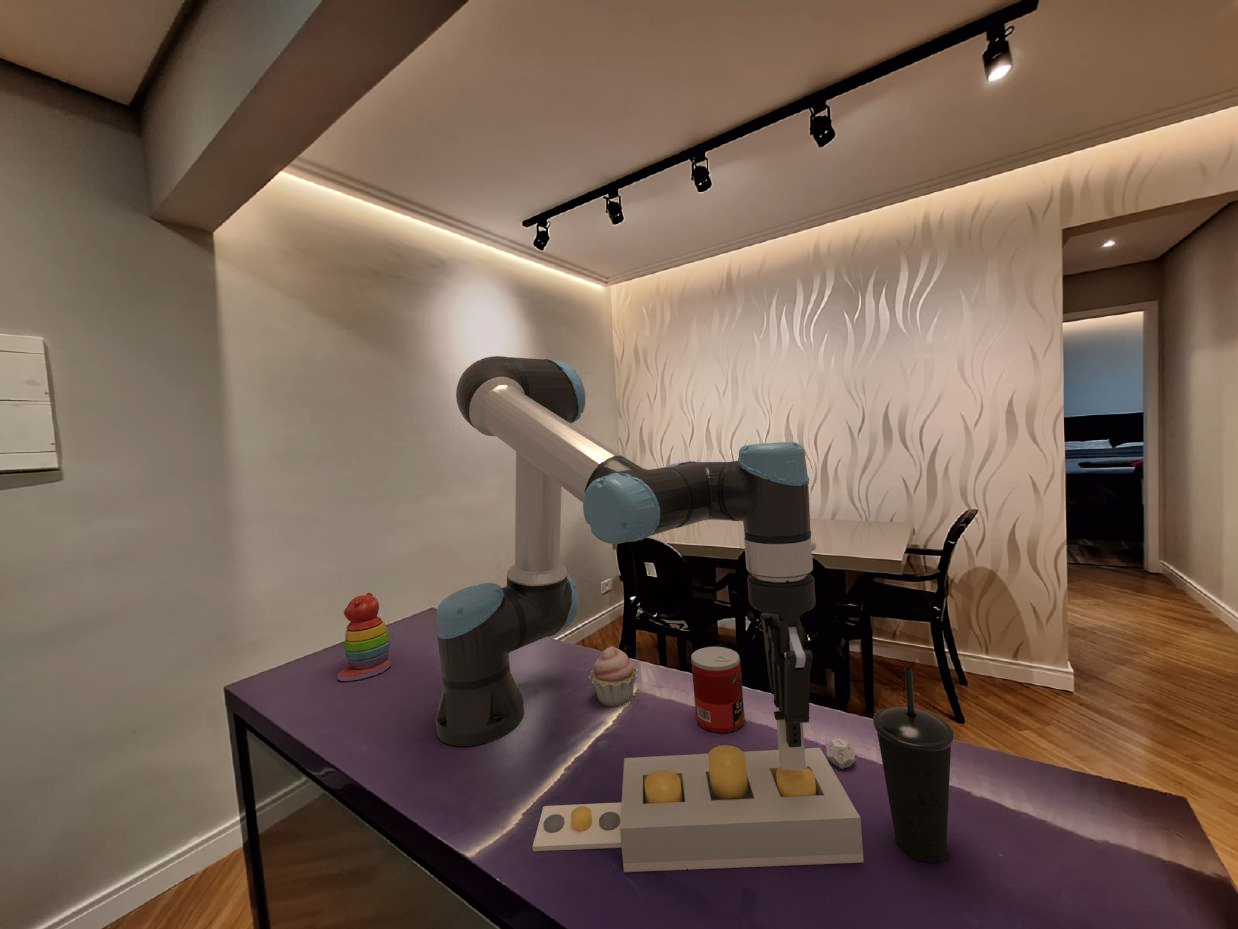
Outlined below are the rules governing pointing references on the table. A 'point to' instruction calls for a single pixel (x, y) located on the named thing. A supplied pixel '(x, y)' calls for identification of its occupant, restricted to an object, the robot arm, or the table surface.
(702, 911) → the table surface
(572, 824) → the pattern card
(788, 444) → the robot arm
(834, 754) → the game die
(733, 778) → the button mid
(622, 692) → the cupcake
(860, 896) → the table surface
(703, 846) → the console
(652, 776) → the button left
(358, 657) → the stacking bear
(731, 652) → the canned food
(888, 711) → the drinking cup
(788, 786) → the button right
